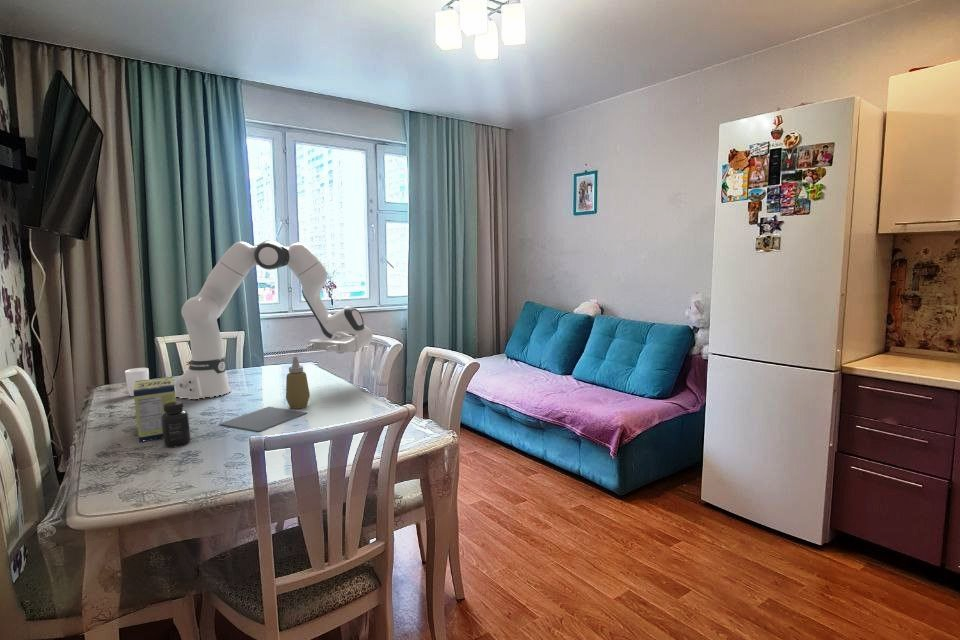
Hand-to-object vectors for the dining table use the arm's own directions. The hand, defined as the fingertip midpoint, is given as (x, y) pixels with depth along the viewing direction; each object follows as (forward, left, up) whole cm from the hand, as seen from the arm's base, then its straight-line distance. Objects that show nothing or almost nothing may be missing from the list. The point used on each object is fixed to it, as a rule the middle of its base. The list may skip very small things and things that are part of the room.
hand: (317, 348), depth 199 cm
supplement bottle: (-15, -55, -18) cm, 60 cm away
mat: (-3, -30, -18) cm, 35 cm away
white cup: (-74, -10, -18) cm, 77 cm away
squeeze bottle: (0, -16, -18) cm, 24 cm away
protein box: (-29, -47, -18) cm, 58 cm away
